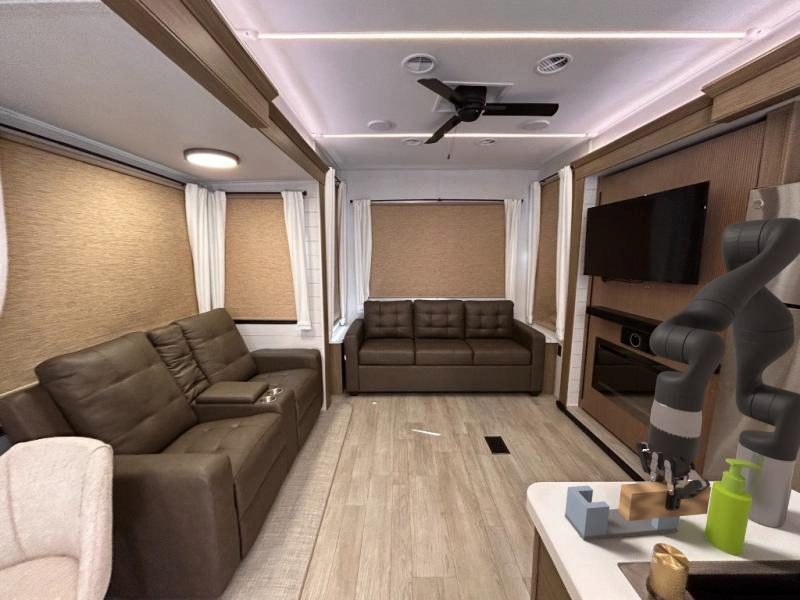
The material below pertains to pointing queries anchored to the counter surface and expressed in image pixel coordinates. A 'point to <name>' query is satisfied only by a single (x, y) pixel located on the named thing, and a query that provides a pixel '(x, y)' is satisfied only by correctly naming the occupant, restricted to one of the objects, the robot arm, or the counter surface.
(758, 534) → the counter surface
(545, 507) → the counter surface
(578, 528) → the end caps
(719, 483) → the soap dispenser
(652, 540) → the counter surface
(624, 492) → the slat
